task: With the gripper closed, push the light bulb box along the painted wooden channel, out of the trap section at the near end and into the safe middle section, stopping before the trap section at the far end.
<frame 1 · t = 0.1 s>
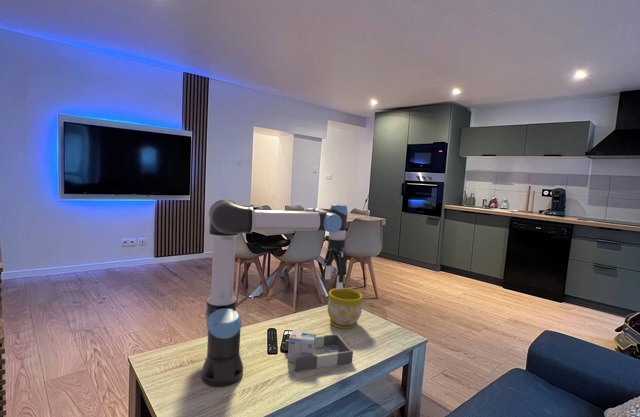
hand: (333, 283, 152), 28 cm above the table, tool pointing down, fingers open, 13 cm apart
flowerpot: (343, 323, 175), on the table
light bulb box: (301, 359, 139), on the table
trap channel: (317, 356, 142), on the table
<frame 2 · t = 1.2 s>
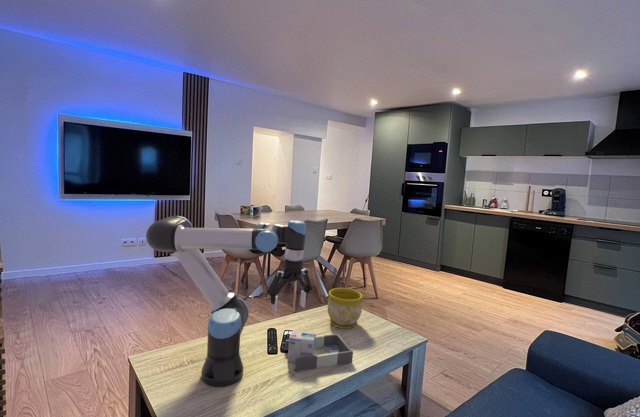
hand: (288, 308, 137), 21 cm above the table, tool pointing down, fingers open, 13 cm apart
nothing on the table moved.
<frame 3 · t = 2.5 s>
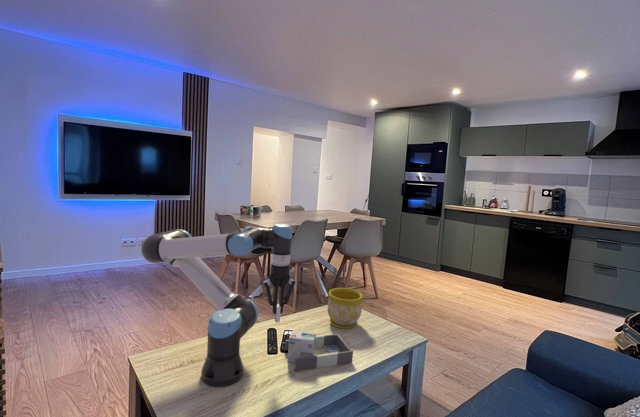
hand: (277, 320, 133), 18 cm above the table, tool pointing down, fingers closed
nothing on the table moved.
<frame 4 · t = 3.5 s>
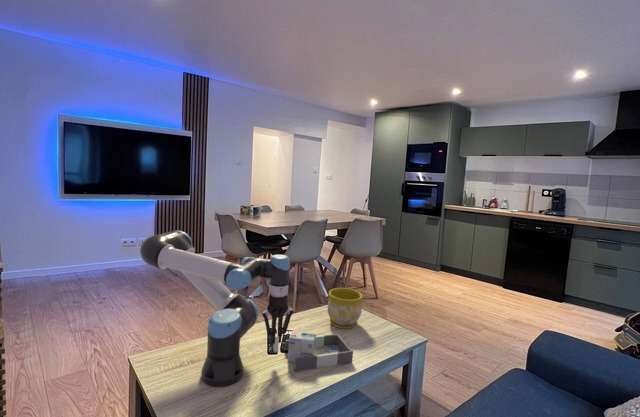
hand: (275, 350, 134), 6 cm above the table, tool pointing down, fingers closed
nothing on the table moved.
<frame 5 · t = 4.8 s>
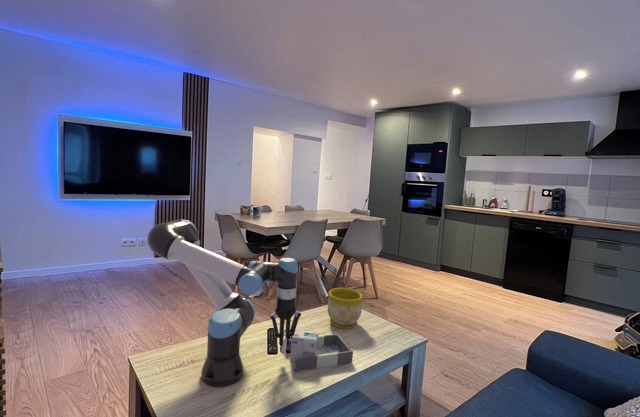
hand: (283, 352, 135), 4 cm above the table, tool pointing down, fingers closed
light bulb box: (303, 359, 140), on the table, touching gripper
everything else where it was.
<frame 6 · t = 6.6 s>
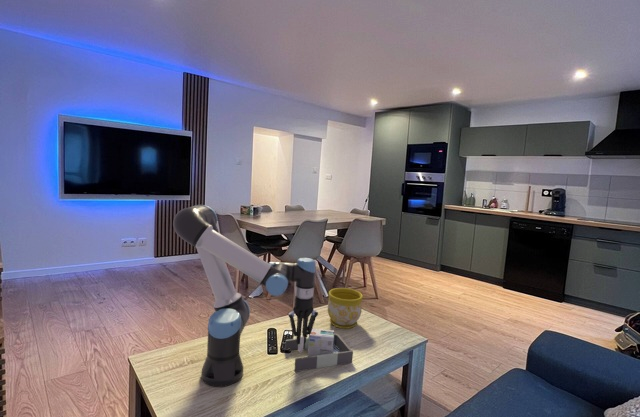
hand: (300, 350, 138), 4 cm above the table, tool pointing down, fingers closed
light bulb box: (320, 356, 143), on the table, touching gripper
everything else where it was.
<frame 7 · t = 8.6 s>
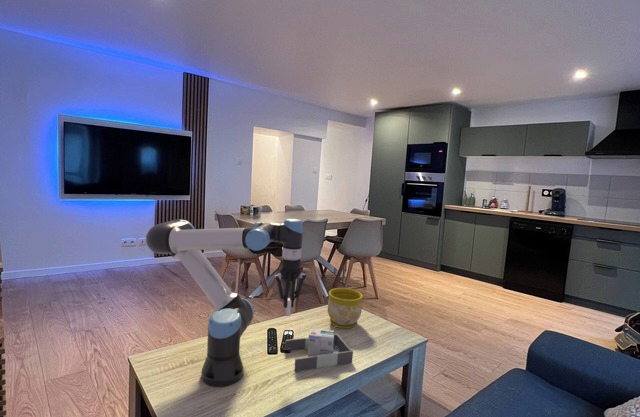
hand: (287, 314, 134), 20 cm above the table, tool pointing down, fingers closed
light bulb box: (320, 356, 143), on the table
everything else where it was.
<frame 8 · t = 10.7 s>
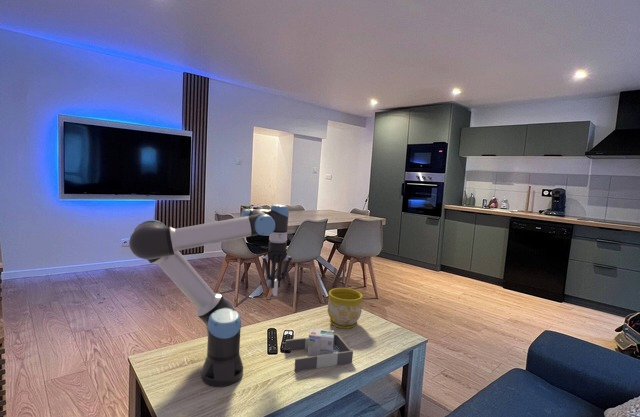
hand: (274, 294, 144), 24 cm above the table, tool pointing down, fingers closed
nothing on the table moved.
at the end: light bulb box inside the target area (0.3 cm from its centre), on the table; light bulb box tilted 0°; the gripper is holding nothing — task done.
